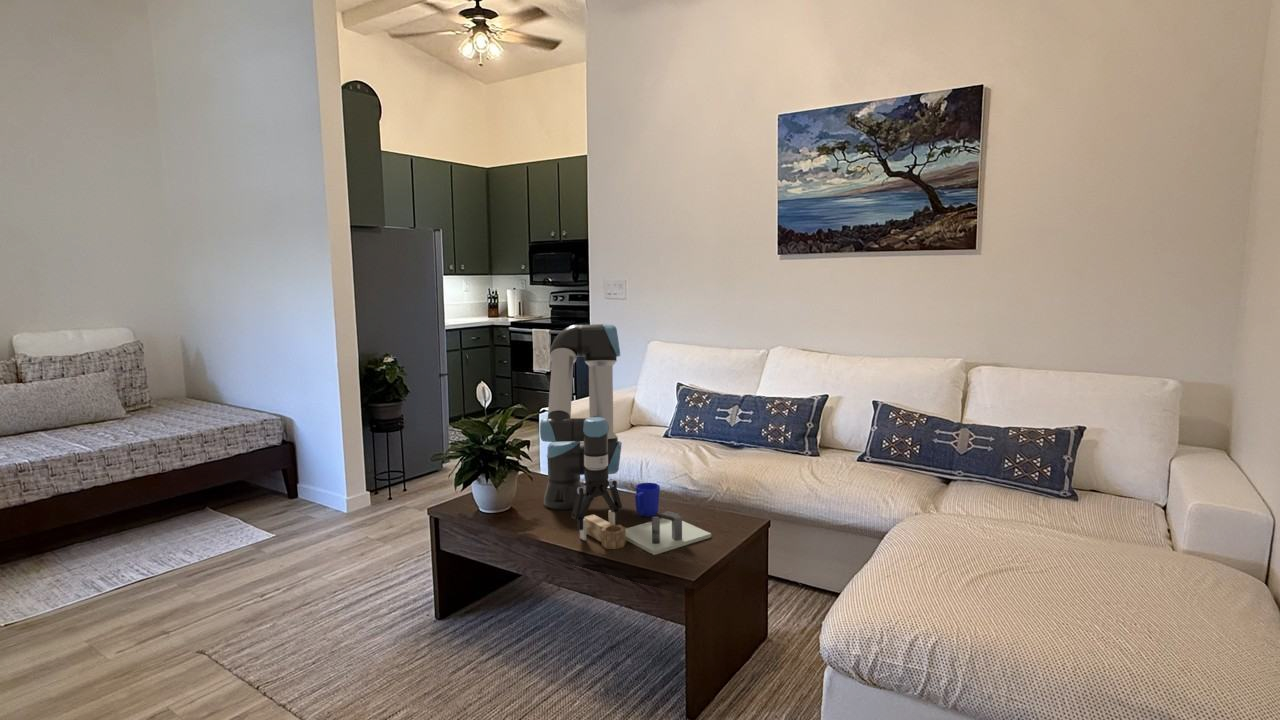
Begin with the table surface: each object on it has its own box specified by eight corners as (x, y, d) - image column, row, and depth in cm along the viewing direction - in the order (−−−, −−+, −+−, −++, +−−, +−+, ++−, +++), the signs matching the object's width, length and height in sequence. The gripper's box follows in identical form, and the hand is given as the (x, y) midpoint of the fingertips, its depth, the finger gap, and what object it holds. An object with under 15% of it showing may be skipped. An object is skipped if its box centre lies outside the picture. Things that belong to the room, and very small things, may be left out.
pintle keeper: (644, 542, 214) (644, 514, 213) (670, 535, 220) (670, 507, 219) (659, 550, 208) (659, 521, 207) (685, 542, 214) (685, 514, 213)
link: (579, 533, 223) (579, 518, 222) (597, 528, 227) (597, 513, 226) (610, 550, 208) (610, 534, 208) (629, 545, 212) (629, 529, 212)
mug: (626, 519, 234) (626, 491, 233) (643, 508, 245) (642, 481, 243) (648, 523, 230) (647, 494, 229) (663, 512, 241) (663, 484, 240)
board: (616, 534, 221) (616, 531, 221) (671, 519, 234) (671, 515, 234) (654, 555, 205) (654, 551, 205) (711, 537, 218) (711, 533, 218)
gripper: (571, 476, 208) (572, 547, 211) (632, 463, 221) (633, 530, 224) (558, 470, 214) (560, 539, 217) (619, 458, 227) (620, 523, 230)
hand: (597, 535), depth 220 cm, fingers open, 10 cm apart
